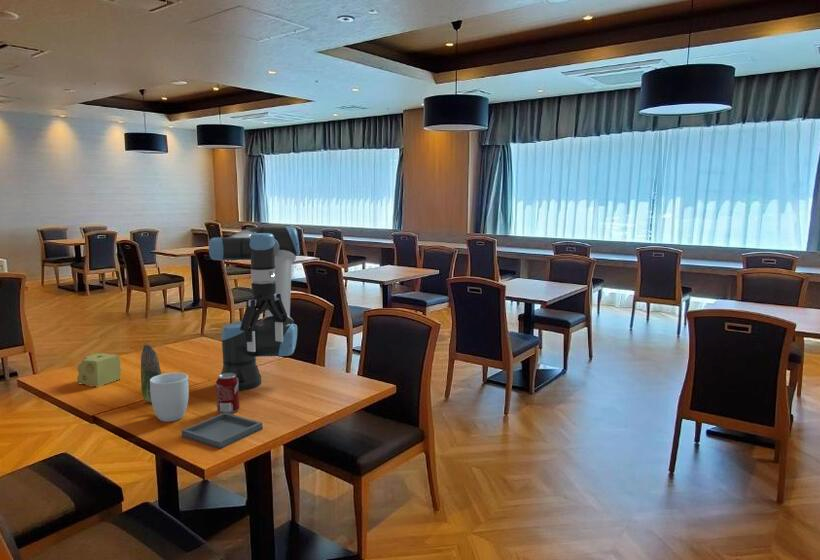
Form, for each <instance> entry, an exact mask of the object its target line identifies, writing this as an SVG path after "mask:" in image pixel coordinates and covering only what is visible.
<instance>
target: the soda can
mask: <svg viewBox="0 0 820 560" xmlns="http://www.w3.org/2000/svg"><path fill="white" fill-rule="evenodd" d="M215 384H216V386H215V389H216V407H217V412H218V413H219V414H222V413H229V414H234V413H236V412H237V411H239V410H240V394H239V393H240V390H239V386H238V379H237V377H236V374H235V373H223V374H221V373H220V374H218V376H217V379H216V382H215Z"/></svg>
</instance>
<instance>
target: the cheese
mask: <svg viewBox="0 0 820 560" xmlns="http://www.w3.org/2000/svg"><path fill="white" fill-rule="evenodd" d="M121 370H122V369H121V359H120V357H119V355H117V354H113V353H112V354H111V353H105V352H97V353H92V354H90V355H86V356H85V357H84V358H83V360H81V362H80V363H78V365H77V373H78V375H77V376H76V377H77V379H76V380H77V384H78V383H81V384H87V385H92V386H97V387H98V386H101V385H104V384H106V385H108V384H107V383H109V384H111V383H110V382H112V383H114V382H113V381H115V382H117V381H116V380H118V381H120V380H121V376H122V375H121V374H122V373H121V372H122V371H121ZM119 379H120V380H119ZM87 385H86V386H87ZM92 386H91V387H92ZM104 386H105V385H104ZM97 387H96V388H97ZM101 387H102V386H101ZM98 388H99V387H98Z"/></svg>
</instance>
